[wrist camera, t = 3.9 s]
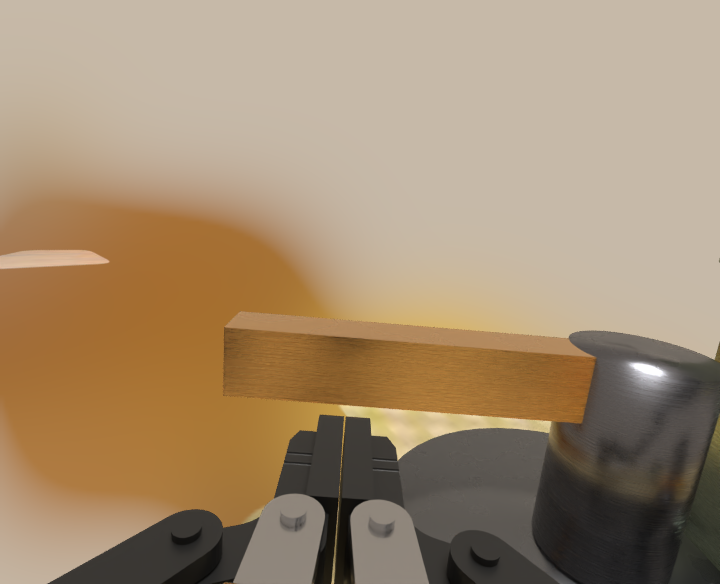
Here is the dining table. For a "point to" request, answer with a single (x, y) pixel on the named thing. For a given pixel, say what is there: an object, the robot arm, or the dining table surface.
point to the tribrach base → (530, 496)
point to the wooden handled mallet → (524, 417)
